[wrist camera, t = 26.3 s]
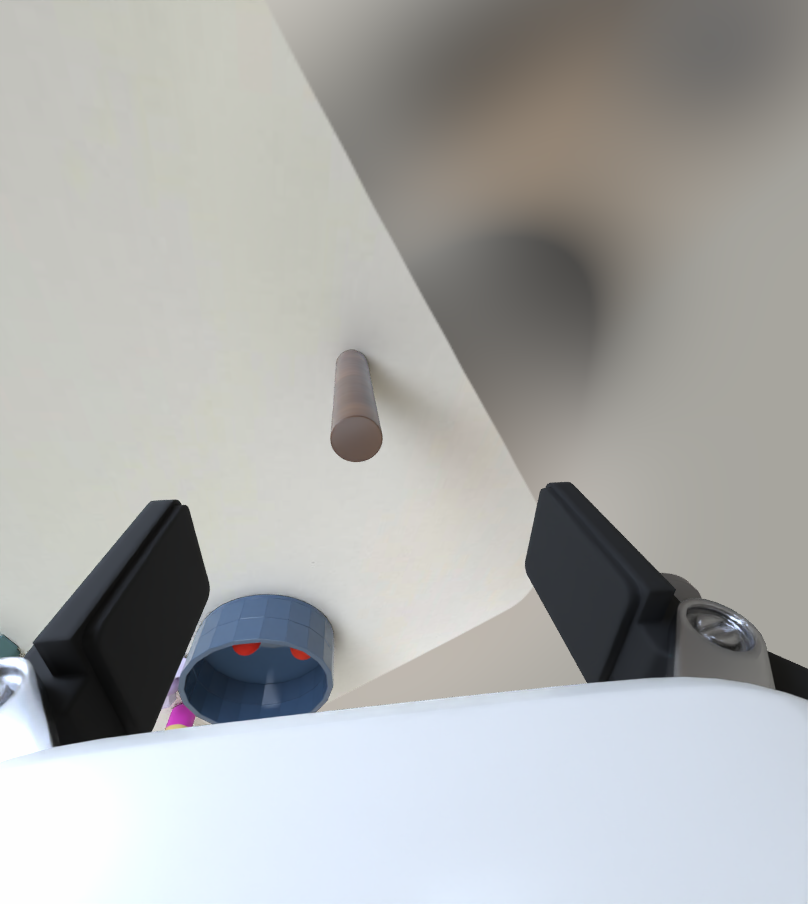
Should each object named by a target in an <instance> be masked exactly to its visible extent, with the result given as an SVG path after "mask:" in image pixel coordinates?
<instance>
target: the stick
mask: <svg viewBox="0 0 808 904" xmlns="http://www.w3.org/2000/svg"><path fill="white" fill-rule="evenodd" d="M330 440H331V445H332V448H333V450H334V451H335V452H336V454H337V455H338V456H340V457H341V458H343V459H345V460H347V461H351V462H361V461H365V460H368V459H370V458H372V457H373V456H374V455H375V454H376V453H377V452H378V451H379V449H380V447H381V445H382V431H381V426H380V421H379V416H378V411H377V406H376V401H375V396H374V391H373V386H372V381H371V376H370V371H369V366H368V362H367V359H366V357H365V356H364V355H363V354H362V353H360V352H358V351H355V350H348V351H345V352H343V353H342V354H341V355H340V356H339V357H338V359H337V362H336V373H335V386H334V399H333V412H332V425H331V438H330Z"/></svg>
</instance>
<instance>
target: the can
mask: <svg viewBox="0 0 808 904" xmlns="http://www.w3.org/2000/svg"><path fill="white" fill-rule="evenodd" d="M17 648H18V646H16V645H15V644H14V643H13V642H11V641H10V640H9V639H8V638H6V637H5V636H4V635H2V636H0V658H4V657H20V656H19V654H20V652H19V651H18V650H16V649H17Z"/></svg>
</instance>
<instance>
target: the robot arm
mask: <svg viewBox="0 0 808 904" xmlns="http://www.w3.org/2000/svg"><path fill="white" fill-rule="evenodd" d="M525 569H526V573H527V575H528V577H529V579H530V581H531V583H532V584H533V586H534V588H535V590H536V592H537V593H538V595H539V597H540V599H541V601H542V602H543V604H544V606H545V608H546V610H547V611H548V613H549V615H550V617H551V619H552V621H553V622H554V624H555V626H556V628H557V630H558V631H559V633H560V635H561V637H562V639H563V640H564V642H565V644H566V646H567V647H568V649H569V651H570V653H571V655H572V657H573V658H574V660H575V662H576V663H577V666H578V667H579V669H580V671H581V673H582V675H583V676H584V678H585V680H586V682H587V683H585V684H575V685H565V686H556V687H546V688H538V689H537V688H536V689H527V690H517V691H507V692H498V693H488V694H479V695H469V696H460V697H451V698H442V699H432V700H423V701H414V702H405V703H396V704H387V705H378V706H369V707H360V708H351V709H341V710H334V711H333V710H332V711H323V712H315V713H306V714H297V715H289V716H280V717H272V718H263V719H254V720H246V721H237V722H228V723H220V724H211V725H202V726H194V727H186V728H179V729H171V730H163V731H156V732H152V730H153V728H154V725H155V723H156V720H157V718H158V716H159V713H160V711H161V709H162V706H163V704H164V702H165V699H166V697H167V694H168V692H169V690H170V687H171V685H172V683H173V680H174V678H175V676H176V673H177V671H178V668H179V666H180V664H181V661H182V659H183V657H184V654H185V652H186V650H187V647H188V645H189V643H190V640H191V638H192V635H193V633H194V631H195V628H196V626H197V624H198V621H199V619H200V617H201V614H202V612H203V609H204V607H205V605H206V602H207V600H208V597H209V591H210V586H209V581H208V577H207V574H206V570H205V566H204V563H203V559H202V555H201V551H200V548H199V544H198V540H197V537H196V533H195V529H194V526H193V522H192V518H191V515H190V511H189V508H188V507H187V506H186V505H181V503H180V502H179V501H178V500H158V501H151V502H150V503H148V505H147V506H146V507H145V508H144V509H143V511H142V512H141V513H140V514H139V515H138V517H137V518H136V519H135V520H134V521H133V523H132V524H131V525H130V526H129V527H128V529H127V530H126V531H125V532H124V533H123V535H122V536H121V537H120V538H119V539H118V541H117V542H116V543H115V544H114V545H113V547H112V548H111V549H110V550H109V551H108V553H107V554H106V555H105V556H104V557H103V559H102V560H101V561H100V562H99V563H98V565H97V566H96V567H95V568H94V569H93V571H92V572H91V573H90V574H89V575H88V577H87V578H86V579H85V580H84V581H83V583H82V584H81V585H80V586H79V587H78V589H77V590H76V591H75V592H74V593H73V595H72V596H71V597H70V598H69V599H68V601H67V602H66V603H65V604H64V605H63V607H62V608H61V609H60V610H59V612H58V613H57V614H56V615H55V616H54V618H53V619H52V620H51V621H50V622H49V624H48V625H47V626H46V627H45V628H44V630H43V631H42V632H41V633H40V634H39V636H38V637H37V638H36V639H35V640H34V642H33V644H34V645H33V647H32V648H31V649H30V650H29V651H28V653H27V654H26V655H25V656H24V658H21V657H4V658H0V904H808V669H807V668H805V667H802V666H800V665H798V664H796V663H793V662H791V661H789V660H786V659H784V658H782V657H780V656H777V655H775V654H773V653H771V652H768V651H767V647H766V643H765V641H764V639H763V637H762V635H761V633H760V632H759V631H758V630H757V629H756V627H755V626H754V625H753V624H752V623H750V622H749V621H748V620H747V619H746V618H744V617H743V616H742V615H740V614H738V613H737V612H735V611H734V610H732V609H730V608H728V607H725V606H724V605H721V604H719V603H716V602H713V601H710V600H706V599H698V598H691V599H685V600H684V601H682V602H680V601H679V600H678V599H677V598H676V597H675V596H674V593H675V591H676V589H675V588H674V587H673V586H672V585H671V584H670V583H669V582H668V581H667V580H666V579H665V578H664V577H663V576H662V575H661V574H660V573H659V572H658V571H657V570H656V569H655V568H654V567H653V566H652V565H651V564H650V563H649V562H648V561H647V560H646V559H645V558H644V556H643V555H642V554H640V552H638V551H637V549H636V548H635V547H634V546H633V545H632V544H631V543H630V542H629V541H628V540H627V539H626V538H625V537H624V536H623V535H622V534H621V533H620V532H619V531H618V530H617V529H616V528H615V527H614V526H613V525H612V524H611V523H610V522H609V521H608V520H607V519H606V518H605V517H604V516H603V515H602V514H601V513H600V512H599V511H598V509H597V508H596V507H594V505H593V504H592V503H591V502H590V501H589V500H588V499H587V498H586V497H585V496H584V495H583V494H582V493H581V492H580V491H579V490H578V489H577V488H576V487H575V486H574V485H573V484H571V483H570V482H558V483H549V484H547V486H546V488H543V489H541V491H540V494H539V499H538V503H537V508H536V513H535V518H534V522H533V527H532V532H531V537H530V541H529V546H528V551H527V556H526V560H525Z"/></svg>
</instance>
